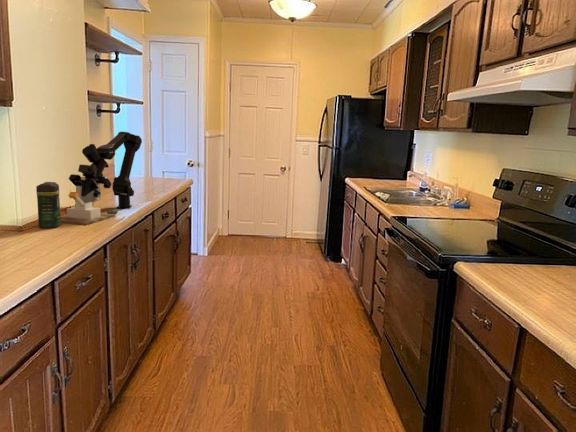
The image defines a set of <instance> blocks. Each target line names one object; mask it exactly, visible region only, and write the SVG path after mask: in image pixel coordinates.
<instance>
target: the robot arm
mask: <svg viewBox="0 0 576 432" xmlns="http://www.w3.org/2000/svg"><path fill="white" fill-rule="evenodd" d="M142 141H143V139H142V138H141V136H140V135H137V134H136V135H135V134H133V133H131V132H128V131H119V132H118V133H117V134H116V136H114V137H113V138H112V139H111V140H110V141H108V143H106V144H102V145H100V146H98V147H97V146H96V144H93V143H90V144H89V145H86V146H85V147H83V148H82V150H81V153H82V154H83V156H84V157H85V158H86V160H87V161H88V163H91V164H90V165H89V164H79V165H78V169H77V172H79V173H82V176H81V175H80V174H73V173H72V174H70V175H69V176H68V181H69V180H70V181H71V182H72V183H73V184H74V185H75V186H82V192H81V196H82V197H84V196H86V195H87V194H89V193H90V192H92V191H94V190H95V189H98V186H101V185H100V184H102V185H103V189H110V188H111V187H112V188H111V189H112V192H113V196H115V197H116V196H117V197H118V206H116V209H130V208H132V207H133V204H131V197H133V196H135V195H134V194H135V190H134V189H133V188H132V186H131V185H132V183H131V180H130V176H131V172H132V168H133V163H134V160H135V155H136V152H138V151H139V150H140V148H141V145H142ZM122 145H123V147H124V149H125V150H124V154H123V159H122V163H121V167H120V171H119V175H118V176H115V177H114V178H113V182H111V180H110V179H109V178H108V177H107V176H104V174H103V171H105V168H107V169H108V168H109V167H110V166H109V164H108V160H109V161H111V160H112V159H114V157H115V155H116V151H117V150H118V149H120V147H121V146H122ZM106 160H107V161H106Z"/></svg>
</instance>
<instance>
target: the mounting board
mask: <svg viewBox="0 0 576 432" xmlns="http://www.w3.org/2000/svg"><path fill="white" fill-rule="evenodd" d="M100 213H101V216H100V217H97V218H94V219H81V218H71V217H67V214H66V215H62V216H61V224H72V225H82V226H89V225H92V224H96V223H98V222H99V223H100V222H102V221H104V220H108V219H111V217H112V218H114V217H116V213H115V214H107V213H104V212H100Z"/></svg>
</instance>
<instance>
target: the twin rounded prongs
mask: <svg viewBox="0 0 576 432" xmlns="http://www.w3.org/2000/svg"><path fill="white" fill-rule="evenodd" d="M118 212H119V211H118V209H117V208H114V209H111V210H108V211H107V212H106V214H115V215H116V214H117V213H118Z"/></svg>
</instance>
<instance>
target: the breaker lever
mask: <svg viewBox="0 0 576 432" xmlns="http://www.w3.org/2000/svg"><path fill="white" fill-rule="evenodd" d="M68 197H69V199H71V198H73V199H74V200H75V202H76V203H77V204H78V205H79V206H80V207H81V208H83V204H85V203H84V202H83V201H82V200H81V199H80V198H79V194H78V193H77V192H71V191H70V192H69V193H68Z"/></svg>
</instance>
